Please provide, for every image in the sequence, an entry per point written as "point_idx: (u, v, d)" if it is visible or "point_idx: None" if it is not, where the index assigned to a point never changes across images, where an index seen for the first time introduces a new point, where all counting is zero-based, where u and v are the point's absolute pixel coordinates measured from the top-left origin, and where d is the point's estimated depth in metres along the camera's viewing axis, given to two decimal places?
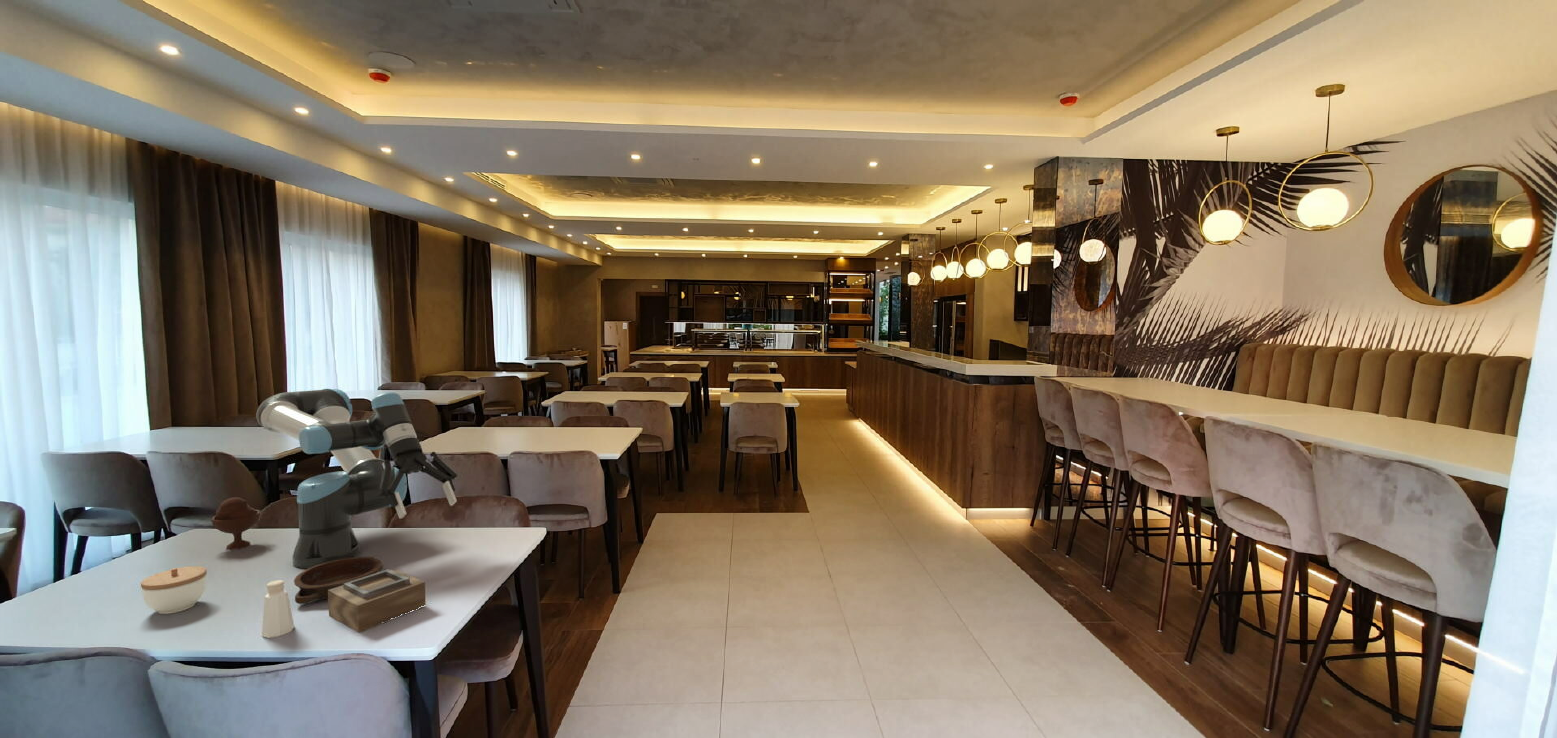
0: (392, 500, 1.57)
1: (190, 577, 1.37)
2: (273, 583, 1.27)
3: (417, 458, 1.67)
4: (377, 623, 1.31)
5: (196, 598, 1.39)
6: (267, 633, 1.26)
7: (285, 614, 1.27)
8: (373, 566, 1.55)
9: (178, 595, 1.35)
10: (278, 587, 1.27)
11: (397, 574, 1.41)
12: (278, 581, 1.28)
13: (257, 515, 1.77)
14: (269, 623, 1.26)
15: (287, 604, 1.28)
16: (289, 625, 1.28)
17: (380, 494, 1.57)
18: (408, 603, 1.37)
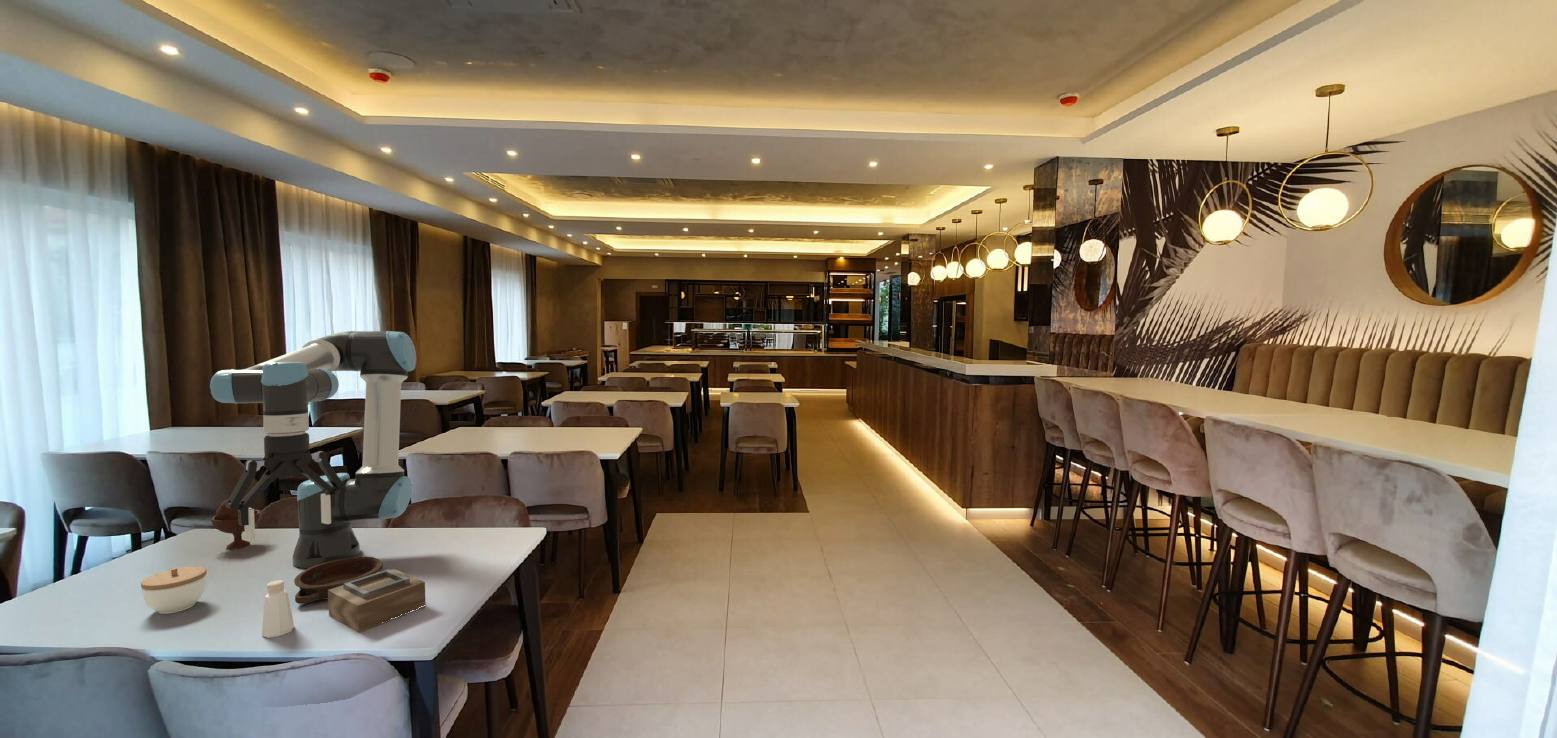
0: (242, 519, 1.21)
1: (190, 576, 1.37)
2: (273, 583, 1.27)
3: (297, 462, 1.28)
4: (377, 623, 1.31)
5: (196, 598, 1.39)
6: (267, 633, 1.26)
7: (285, 614, 1.27)
8: (373, 566, 1.55)
9: (178, 595, 1.35)
10: (278, 587, 1.27)
11: (397, 574, 1.41)
12: (278, 581, 1.28)
13: (257, 515, 1.77)
14: (269, 623, 1.26)
15: (287, 604, 1.28)
16: (289, 625, 1.28)
17: (228, 507, 1.20)
18: (408, 603, 1.37)
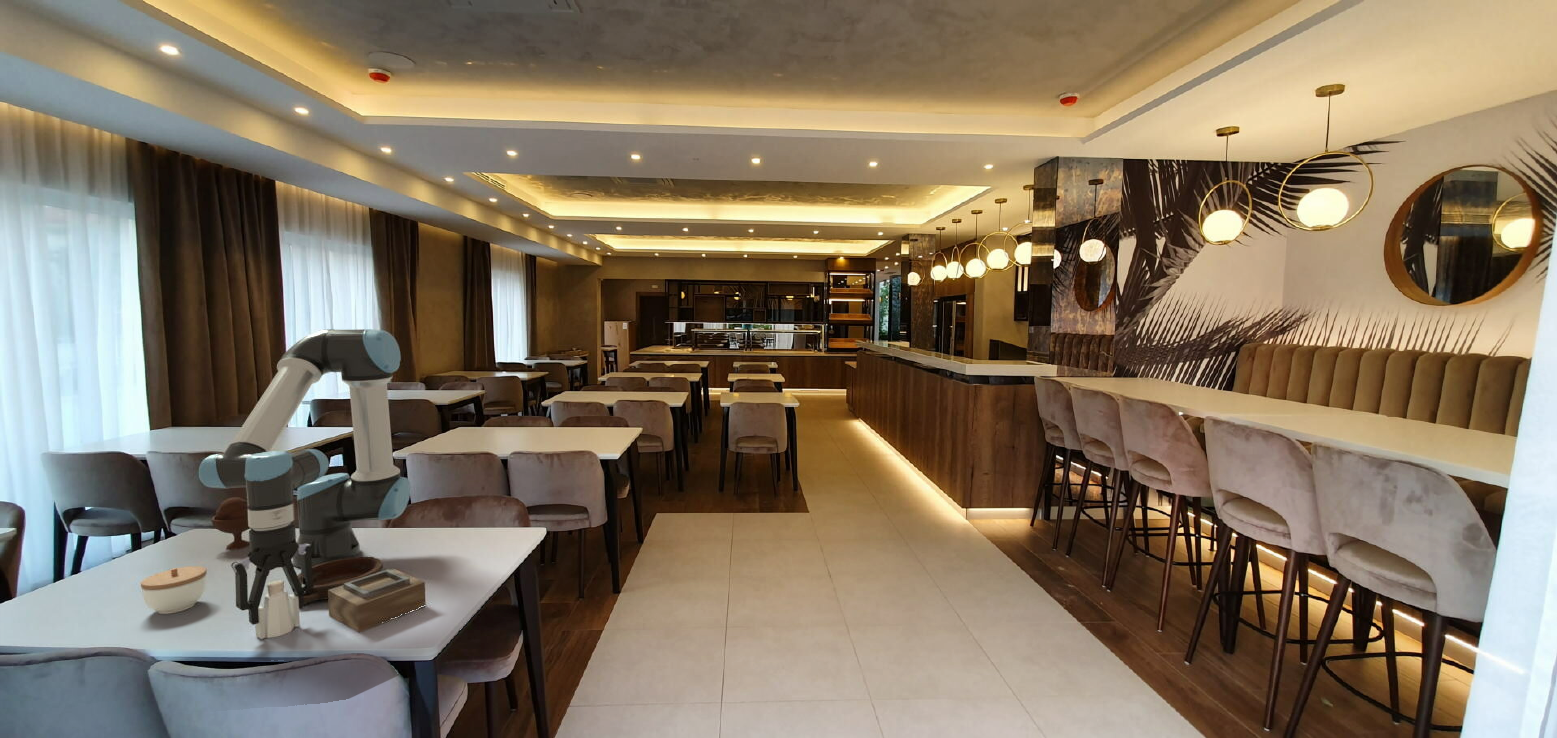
0: (252, 618, 1.24)
1: (190, 576, 1.37)
2: (273, 583, 1.27)
3: (283, 554, 1.27)
4: (377, 623, 1.31)
5: (196, 598, 1.39)
6: (267, 633, 1.26)
7: (285, 614, 1.27)
8: (373, 566, 1.55)
9: (178, 595, 1.35)
10: (278, 587, 1.27)
11: (397, 574, 1.41)
12: (278, 581, 1.28)
13: None
14: (269, 622, 1.26)
15: (287, 603, 1.28)
16: (289, 625, 1.28)
17: None
18: (408, 603, 1.37)
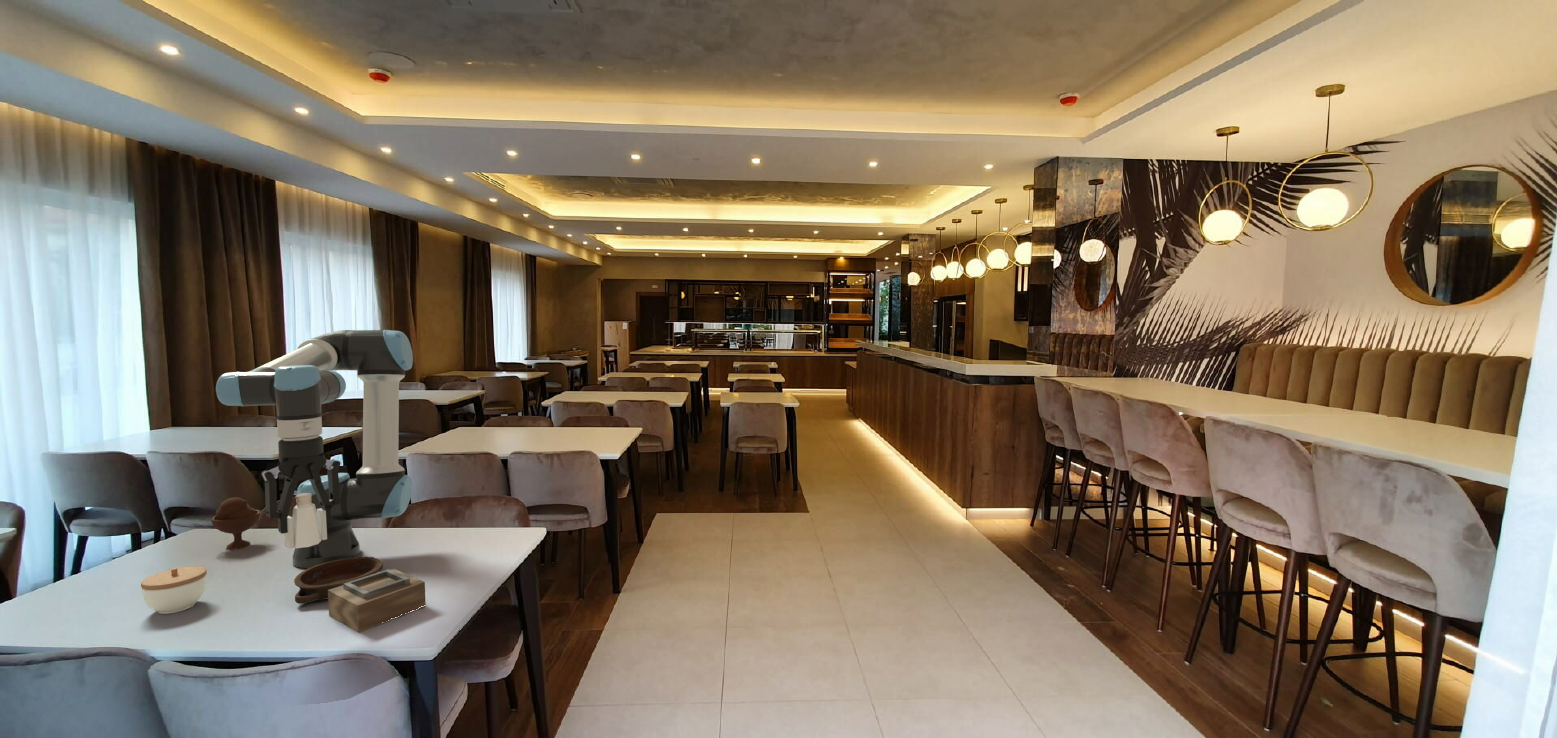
0: (281, 527, 1.25)
1: (190, 577, 1.37)
2: (301, 494, 1.28)
3: (311, 466, 1.28)
4: (377, 623, 1.31)
5: (196, 598, 1.39)
6: (296, 543, 1.27)
7: (313, 526, 1.29)
8: (373, 566, 1.55)
9: (178, 595, 1.35)
10: (306, 499, 1.28)
11: (397, 574, 1.41)
12: (306, 493, 1.29)
13: (257, 515, 1.77)
14: (297, 533, 1.27)
15: (315, 516, 1.30)
16: (317, 537, 1.29)
17: (269, 516, 1.24)
18: (408, 603, 1.37)
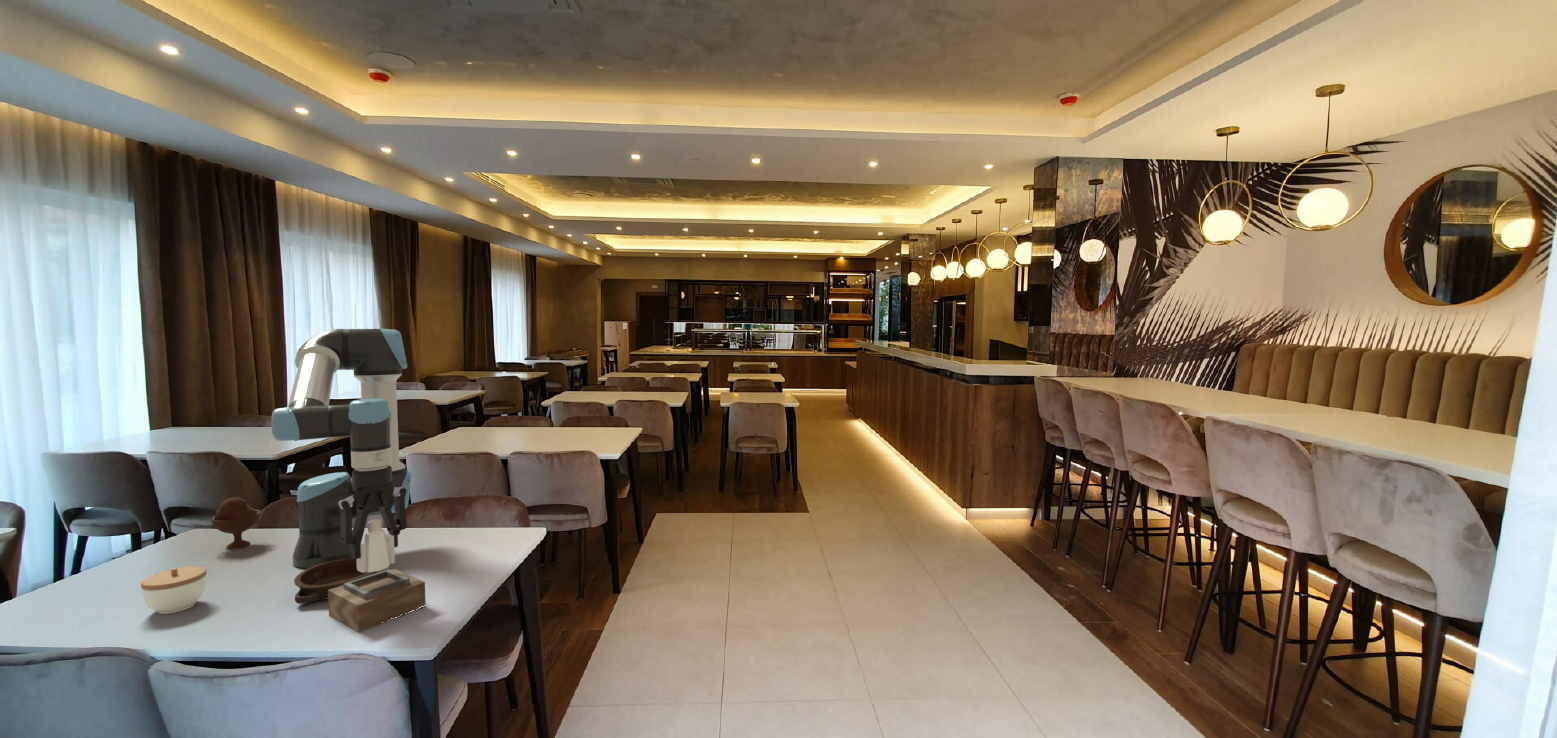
0: (355, 552, 1.32)
1: (190, 577, 1.37)
2: (372, 521, 1.36)
3: (382, 494, 1.36)
4: (377, 623, 1.31)
5: (196, 598, 1.39)
6: (368, 567, 1.34)
7: (383, 550, 1.36)
8: None
9: (178, 595, 1.35)
10: (377, 525, 1.35)
11: (397, 574, 1.41)
12: (377, 520, 1.36)
13: (257, 515, 1.77)
14: (370, 558, 1.34)
15: (385, 541, 1.37)
16: (387, 561, 1.37)
17: (344, 543, 1.31)
18: (408, 603, 1.37)
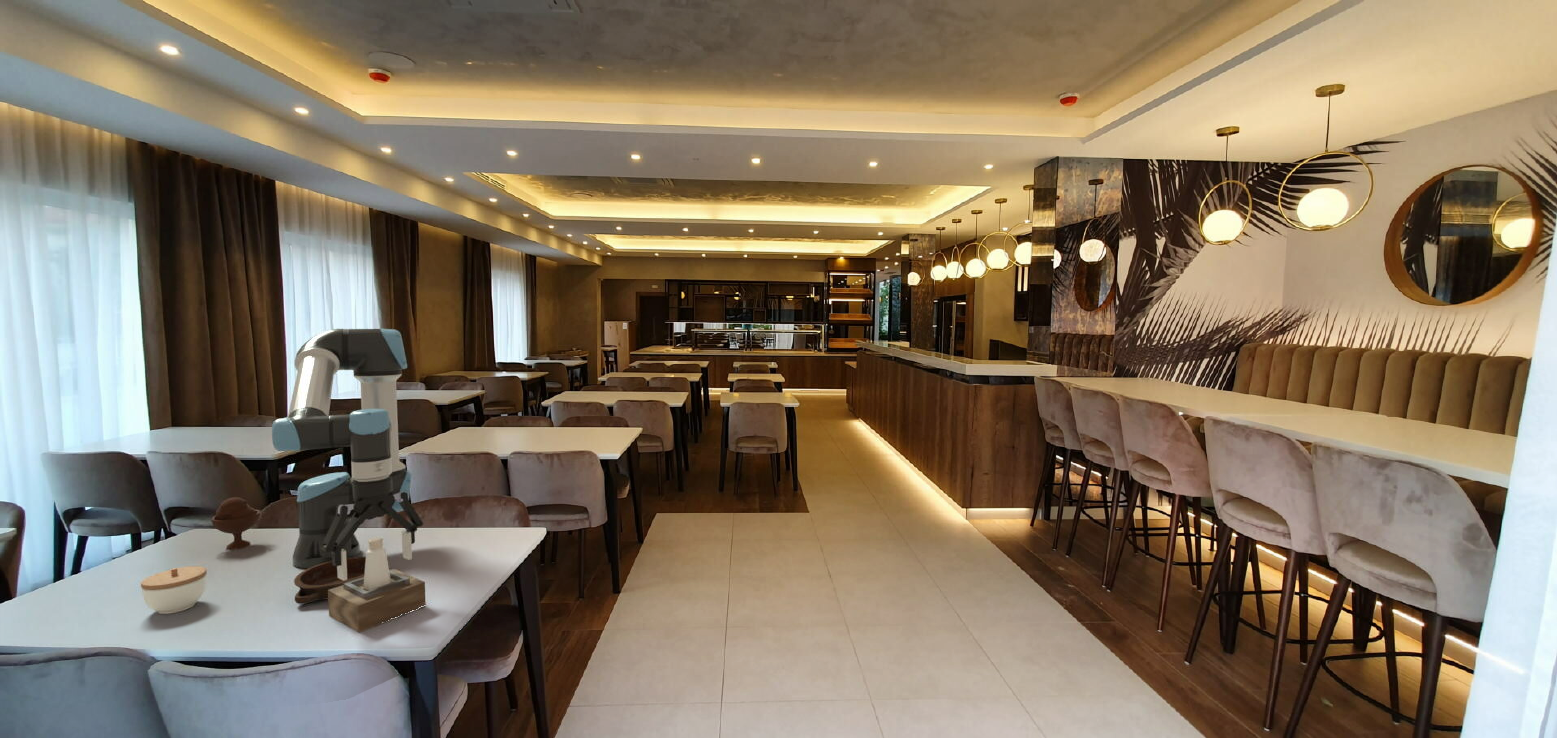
0: (335, 560, 1.29)
1: (190, 576, 1.37)
2: (373, 539, 1.36)
3: (382, 504, 1.36)
4: (377, 623, 1.31)
5: (196, 598, 1.39)
6: (369, 586, 1.35)
7: (384, 569, 1.36)
8: None
9: (178, 595, 1.35)
10: (378, 543, 1.36)
11: (397, 574, 1.41)
12: (378, 538, 1.37)
13: (257, 515, 1.77)
14: (370, 576, 1.35)
15: (386, 559, 1.37)
16: (387, 579, 1.37)
17: (323, 549, 1.28)
18: (408, 603, 1.37)
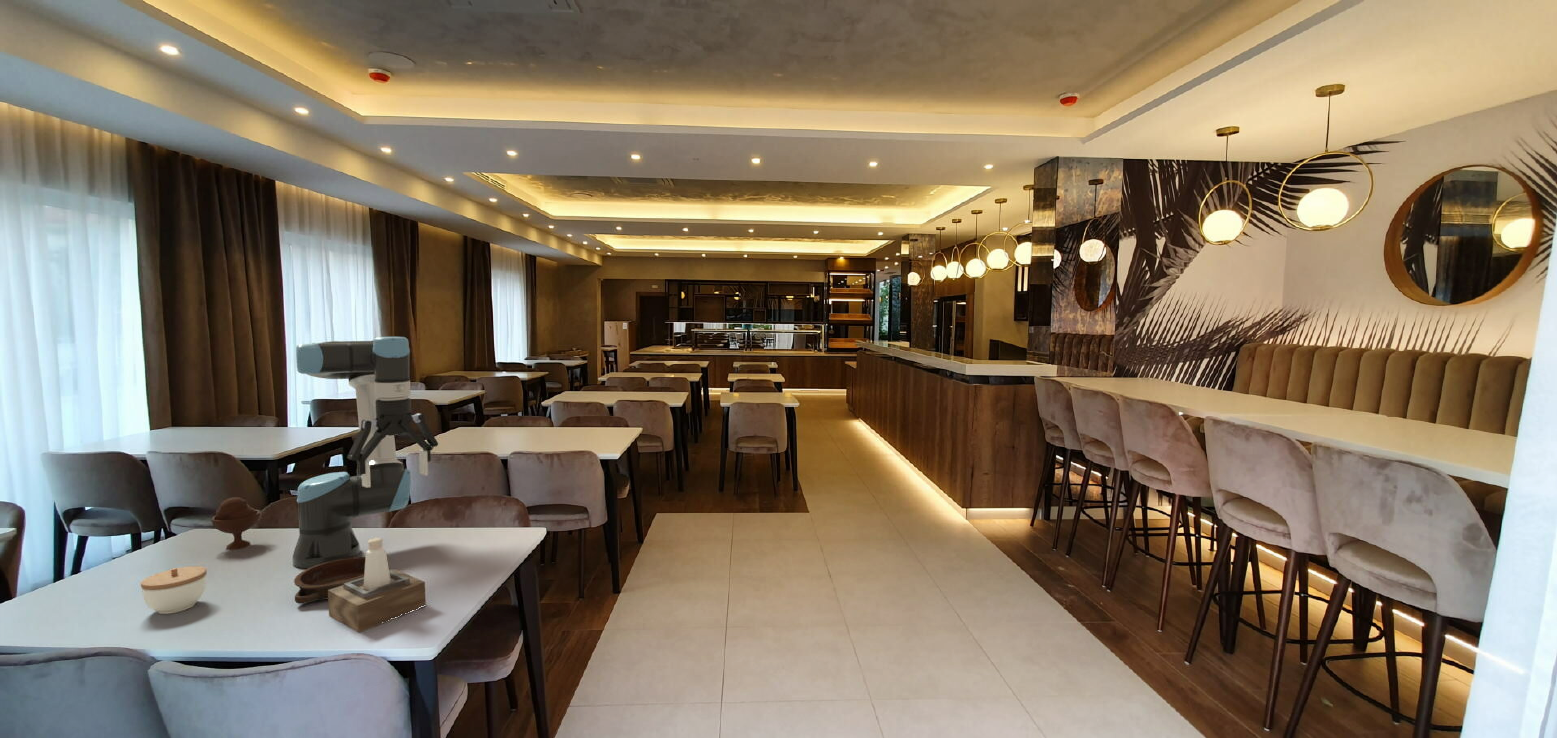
0: (360, 468, 1.44)
1: (190, 576, 1.37)
2: (373, 540, 1.36)
3: (402, 423, 1.50)
4: (377, 623, 1.31)
5: (196, 598, 1.39)
6: (369, 586, 1.35)
7: (384, 569, 1.36)
8: None
9: (178, 595, 1.35)
10: (378, 544, 1.36)
11: (397, 574, 1.41)
12: (377, 538, 1.37)
13: (257, 515, 1.77)
14: (370, 576, 1.35)
15: (385, 560, 1.37)
16: (387, 580, 1.37)
17: (350, 458, 1.43)
18: (408, 603, 1.37)
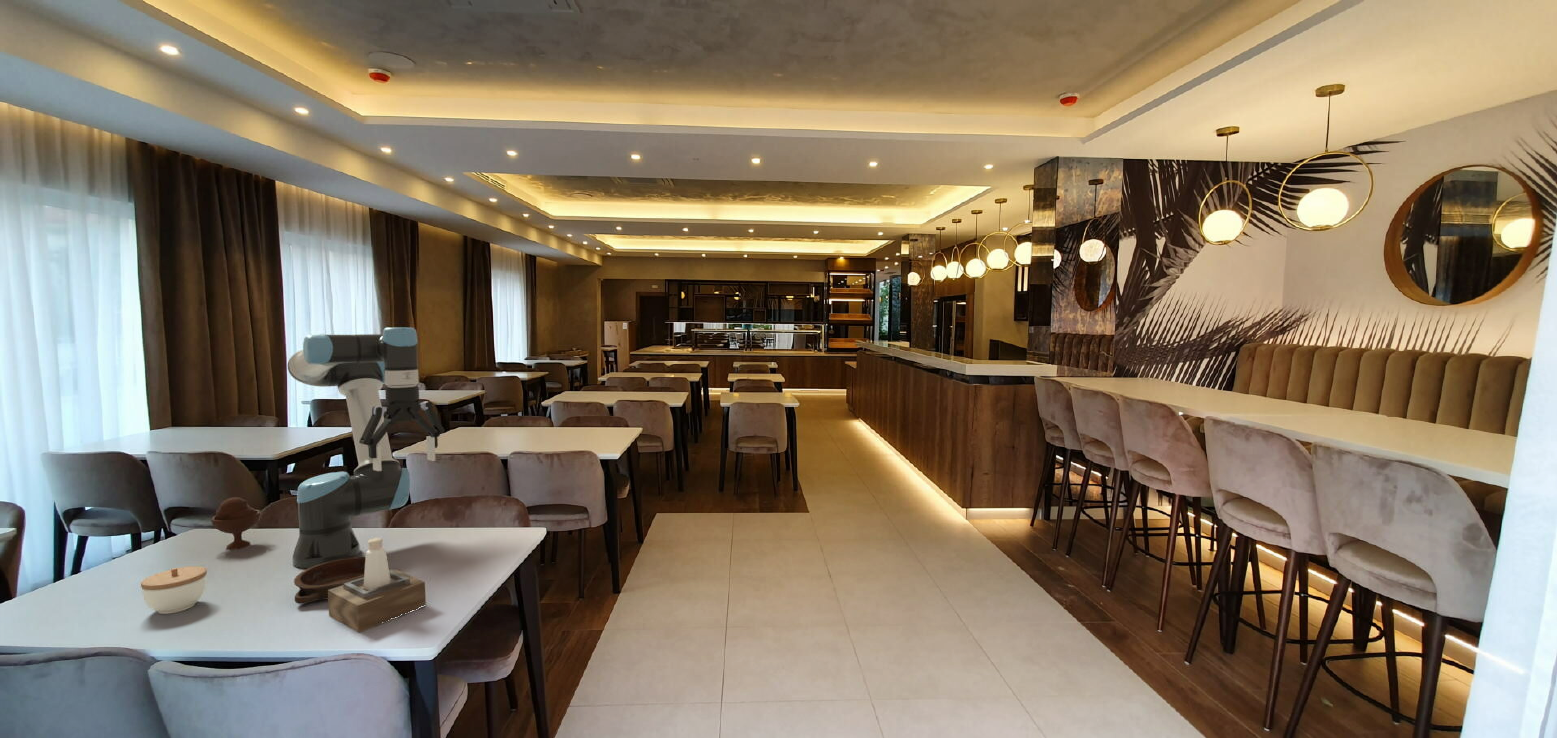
0: (371, 453, 1.51)
1: (190, 577, 1.37)
2: (373, 540, 1.36)
3: (411, 409, 1.57)
4: (377, 623, 1.31)
5: (196, 598, 1.39)
6: (369, 586, 1.35)
7: (384, 569, 1.36)
8: None
9: (178, 595, 1.35)
10: (378, 544, 1.36)
11: (397, 574, 1.41)
12: (377, 538, 1.37)
13: (257, 515, 1.77)
14: (370, 576, 1.35)
15: (385, 560, 1.37)
16: (387, 580, 1.37)
17: (361, 443, 1.50)
18: (408, 603, 1.37)
